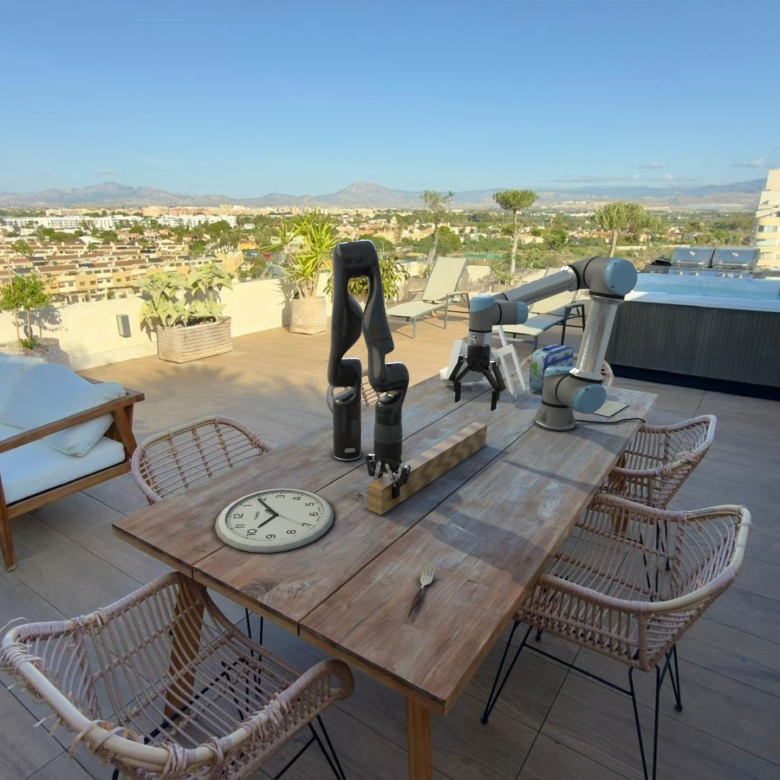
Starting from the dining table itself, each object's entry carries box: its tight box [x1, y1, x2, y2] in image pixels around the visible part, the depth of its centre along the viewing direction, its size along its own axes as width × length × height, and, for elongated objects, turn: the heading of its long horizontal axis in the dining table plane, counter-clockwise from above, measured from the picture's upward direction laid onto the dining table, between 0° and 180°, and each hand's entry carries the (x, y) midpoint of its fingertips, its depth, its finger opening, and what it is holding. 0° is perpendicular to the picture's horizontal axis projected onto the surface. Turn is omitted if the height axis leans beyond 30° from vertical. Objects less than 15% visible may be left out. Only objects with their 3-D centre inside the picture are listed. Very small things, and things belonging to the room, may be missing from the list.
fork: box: [407, 563, 436, 618], centre depth 108 cm, size 3×16×2 cm, turn 160°
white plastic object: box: [438, 325, 531, 400], centre depth 245 cm, size 37×45×31 cm
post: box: [367, 421, 488, 516], centre depth 162 cm, size 60×5×8 cm, turn 143°
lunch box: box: [528, 344, 574, 393], centre depth 247 cm, size 26×11×21 cm, turn 134°
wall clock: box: [214, 488, 335, 554], centre depth 135 cm, size 30×2×30 cm
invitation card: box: [593, 399, 629, 418], centre depth 226 cm, size 21×1×15 cm
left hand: (387, 494), depth 143 cm, fingers closed on post, 5 cm apart
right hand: (475, 405), depth 177 cm, fingers open, 13 cm apart
